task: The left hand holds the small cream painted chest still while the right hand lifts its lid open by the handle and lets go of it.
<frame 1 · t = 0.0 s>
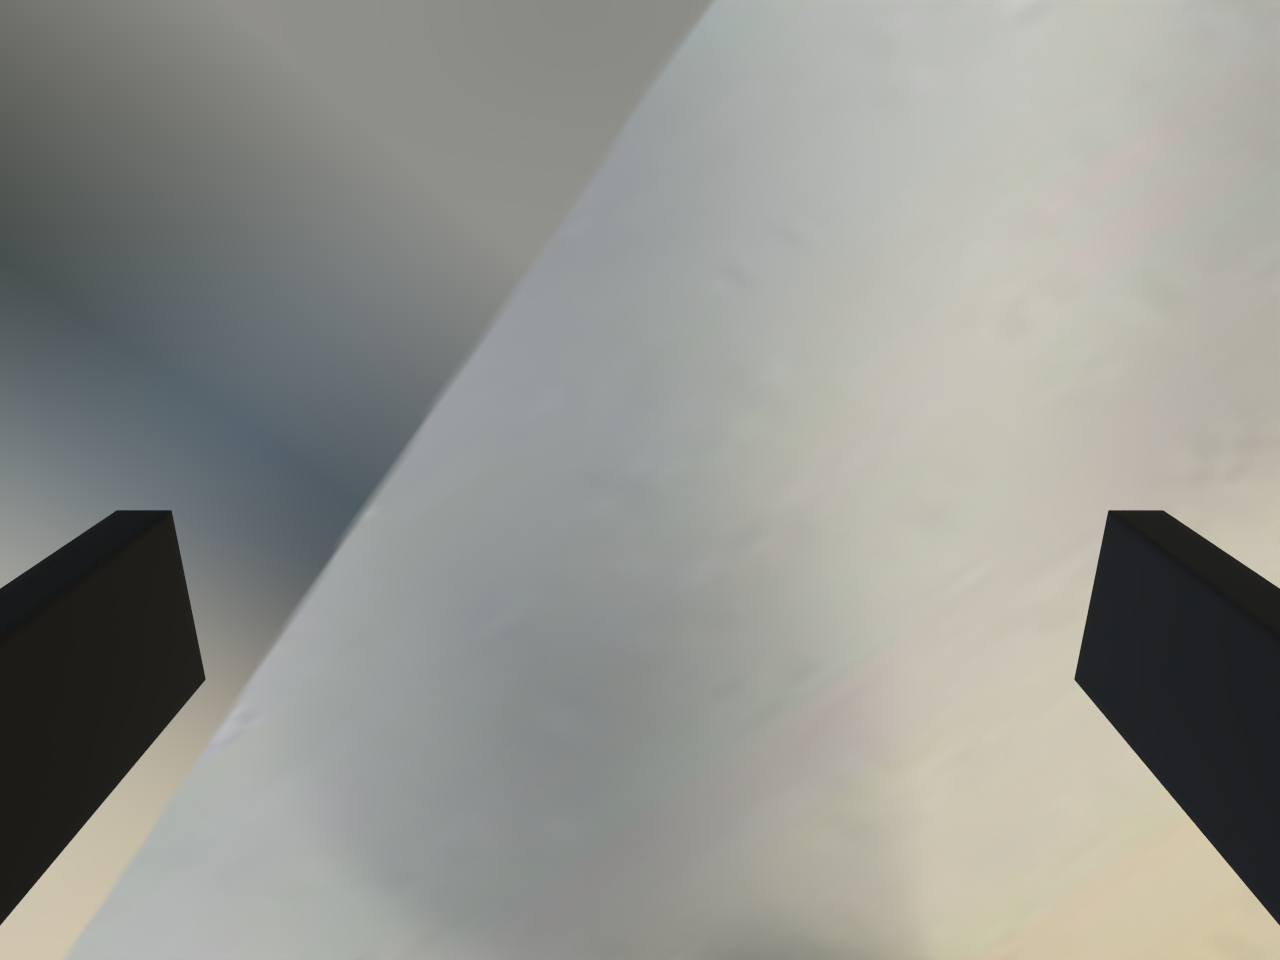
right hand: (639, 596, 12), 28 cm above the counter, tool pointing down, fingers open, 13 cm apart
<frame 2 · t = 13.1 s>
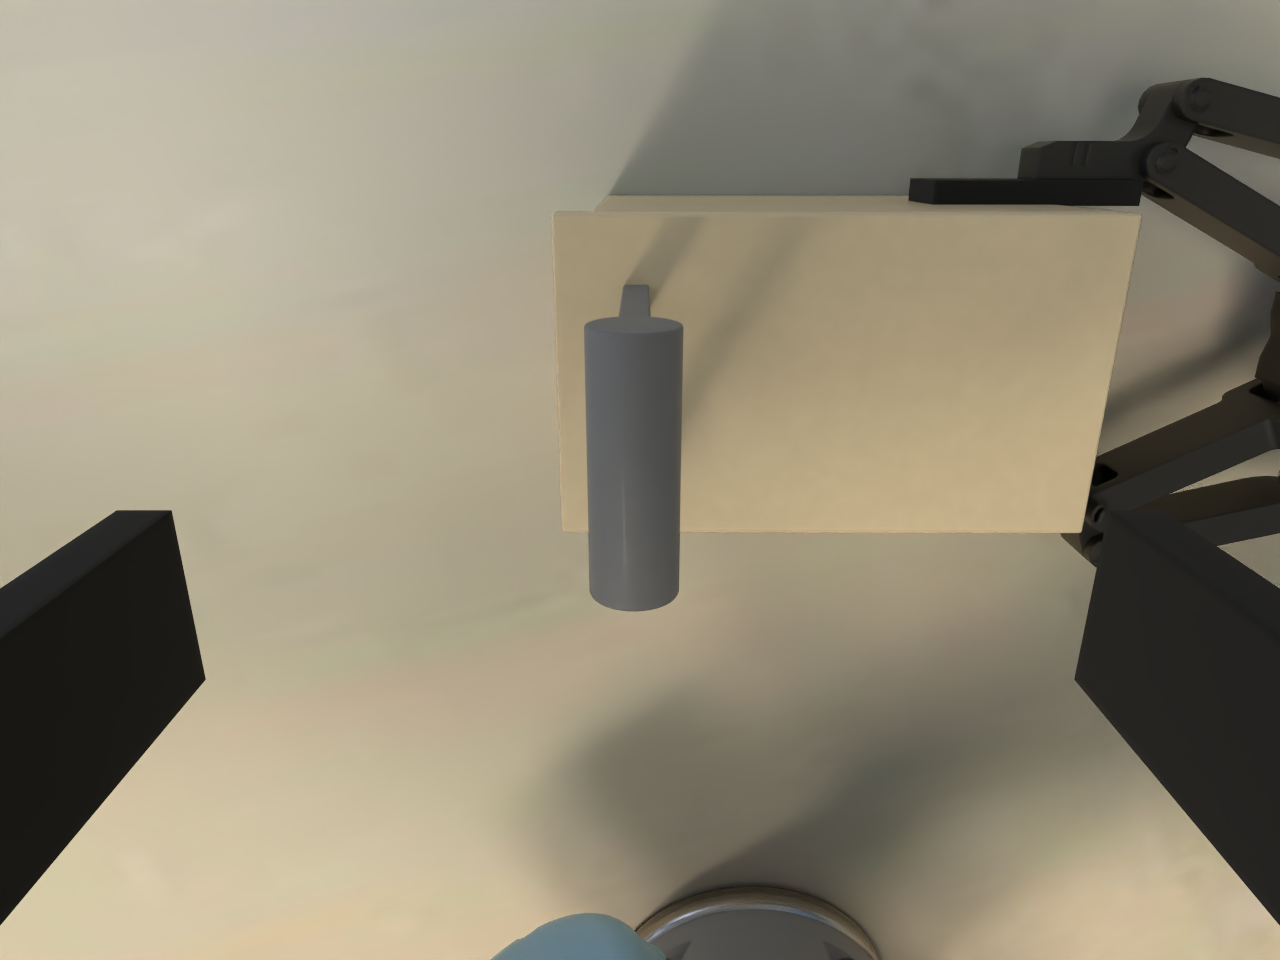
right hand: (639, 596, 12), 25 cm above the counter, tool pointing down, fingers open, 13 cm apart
left hand: (905, 340, 30), fingers closed on chest, 9 cm apart
lid: (861, 417, 21), point 16 cm above the counter, hinge at 0.0°
chest: (783, 311, 36), on the counter, touching left hand
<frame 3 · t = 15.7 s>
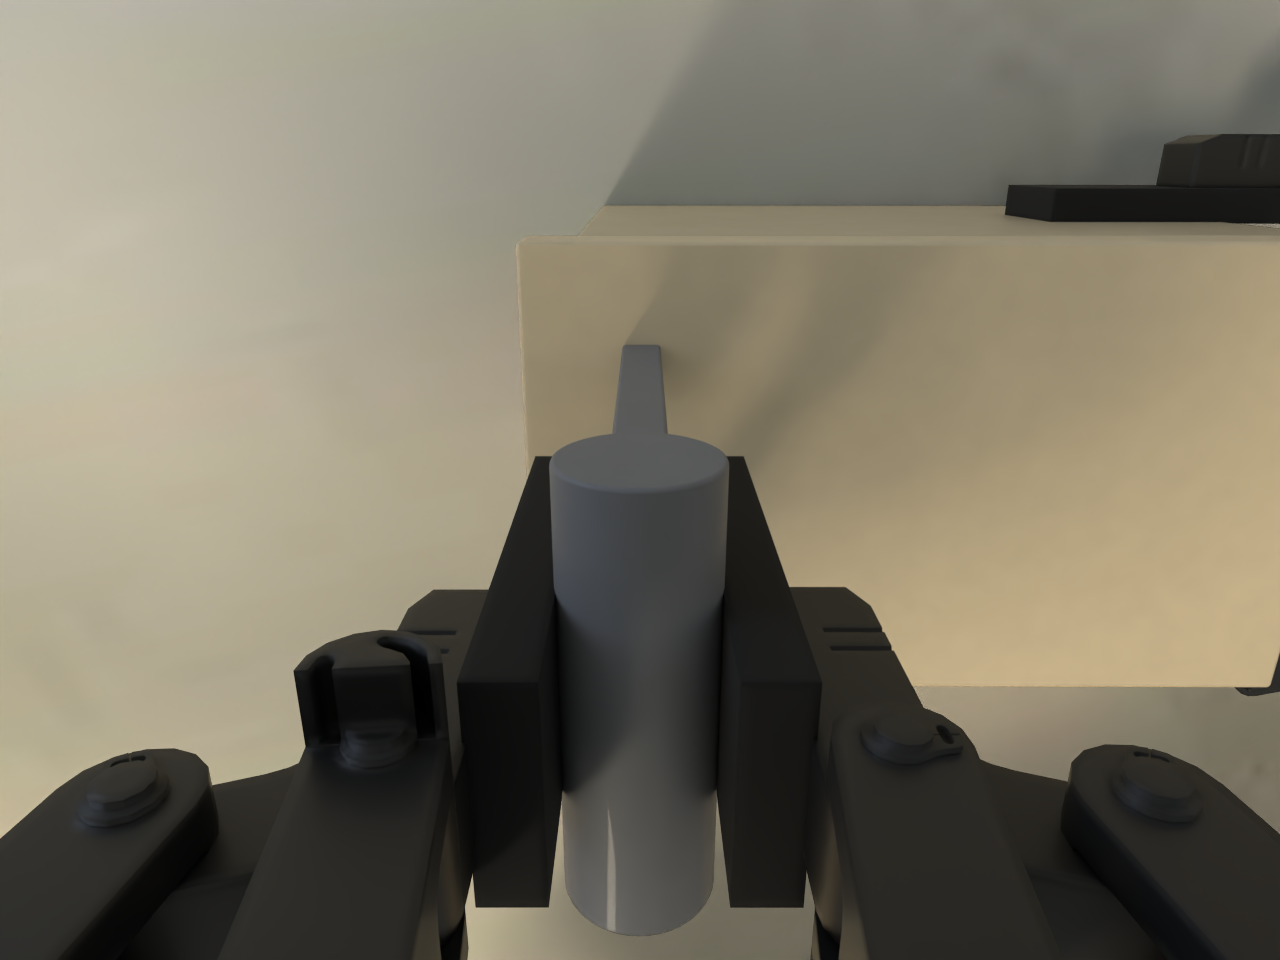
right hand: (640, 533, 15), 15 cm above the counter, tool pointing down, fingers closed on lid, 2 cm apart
lid: (992, 560, 14), point 16 cm above the counter, hinge at -0.1°, touching right hand
chest: (826, 351, 28), on the counter, touching left hand
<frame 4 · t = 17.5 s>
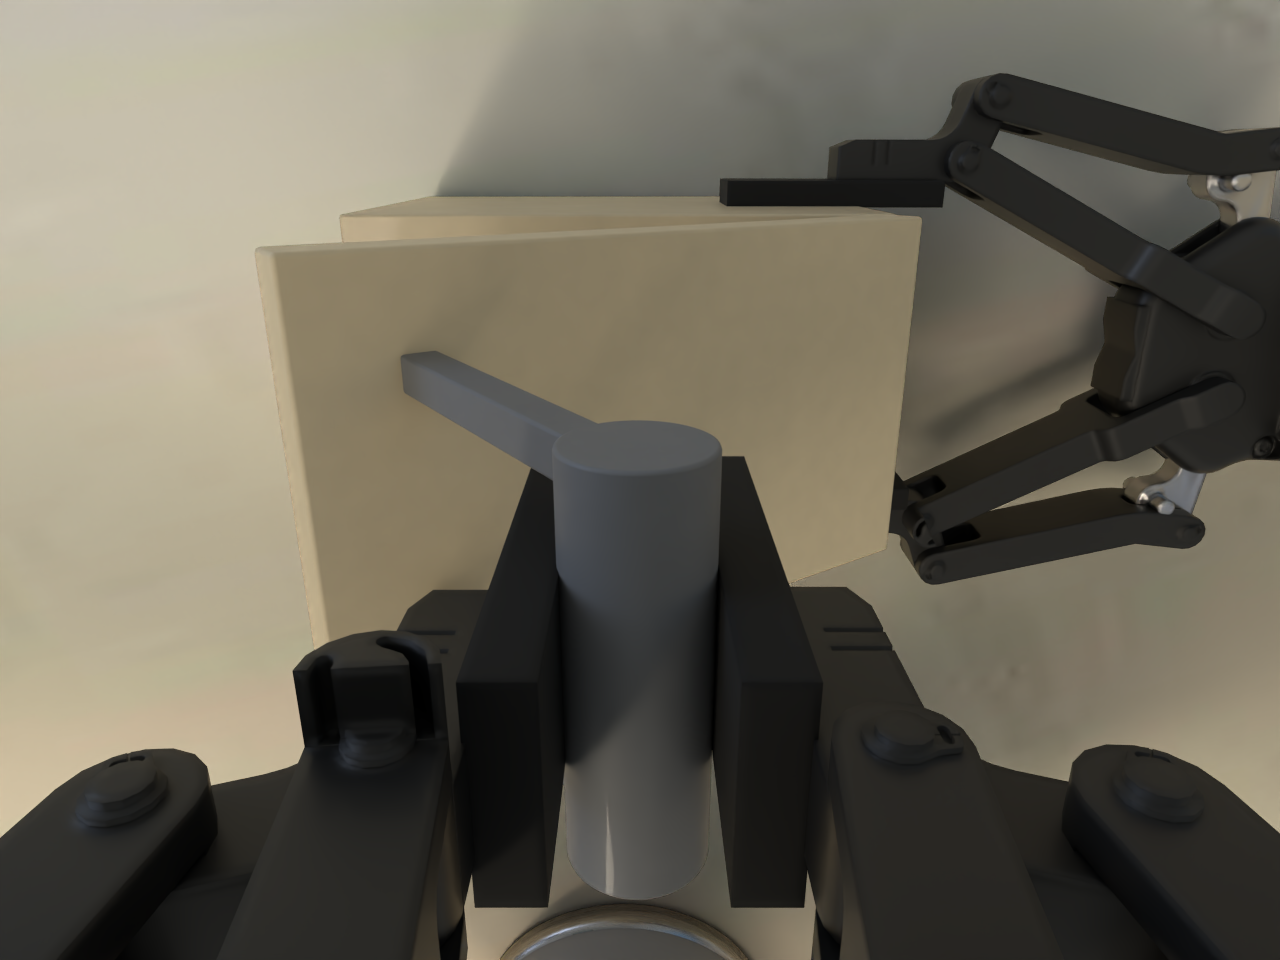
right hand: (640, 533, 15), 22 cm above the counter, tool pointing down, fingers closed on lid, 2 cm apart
left hand: (718, 347, 29), fingers closed on chest, 9 cm apart
lid: (773, 490, 17), point 19 cm above the counter, hinge at 33.3°, touching right hand
chest: (621, 316, 35), on the counter, touching left hand
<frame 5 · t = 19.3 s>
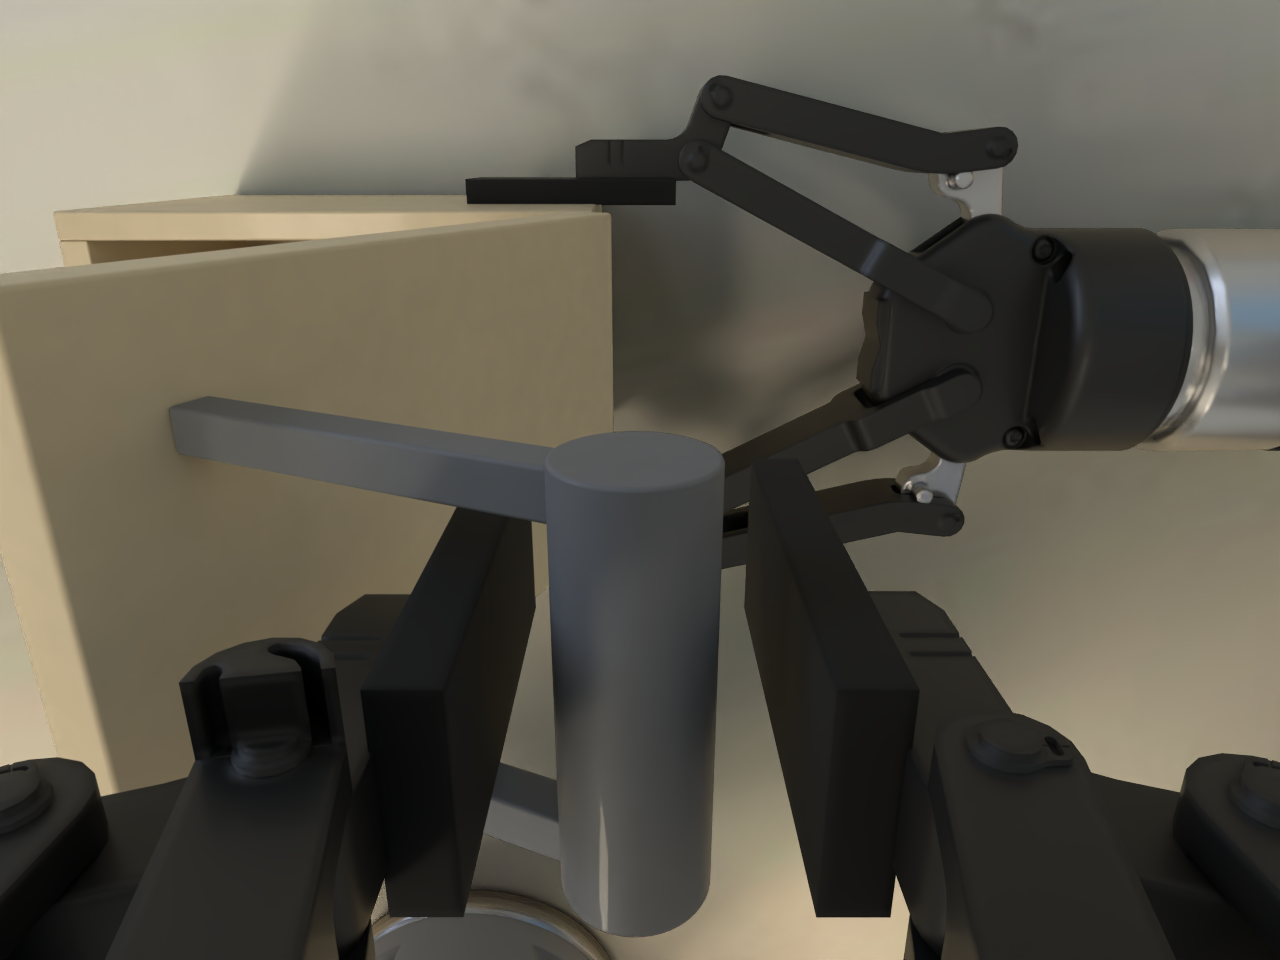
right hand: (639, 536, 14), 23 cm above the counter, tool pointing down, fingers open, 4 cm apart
left hand: (483, 341, 30), fingers closed on chest, 9 cm apart
lid: (589, 490, 16), point 20 cm above the counter, hinge at 64.1°
chest: (425, 312, 36), on the counter, touching left hand
when the left hand's fingers open (6 cm above the counter, at t = 23.0 s): chest stays where it is, on the counter.
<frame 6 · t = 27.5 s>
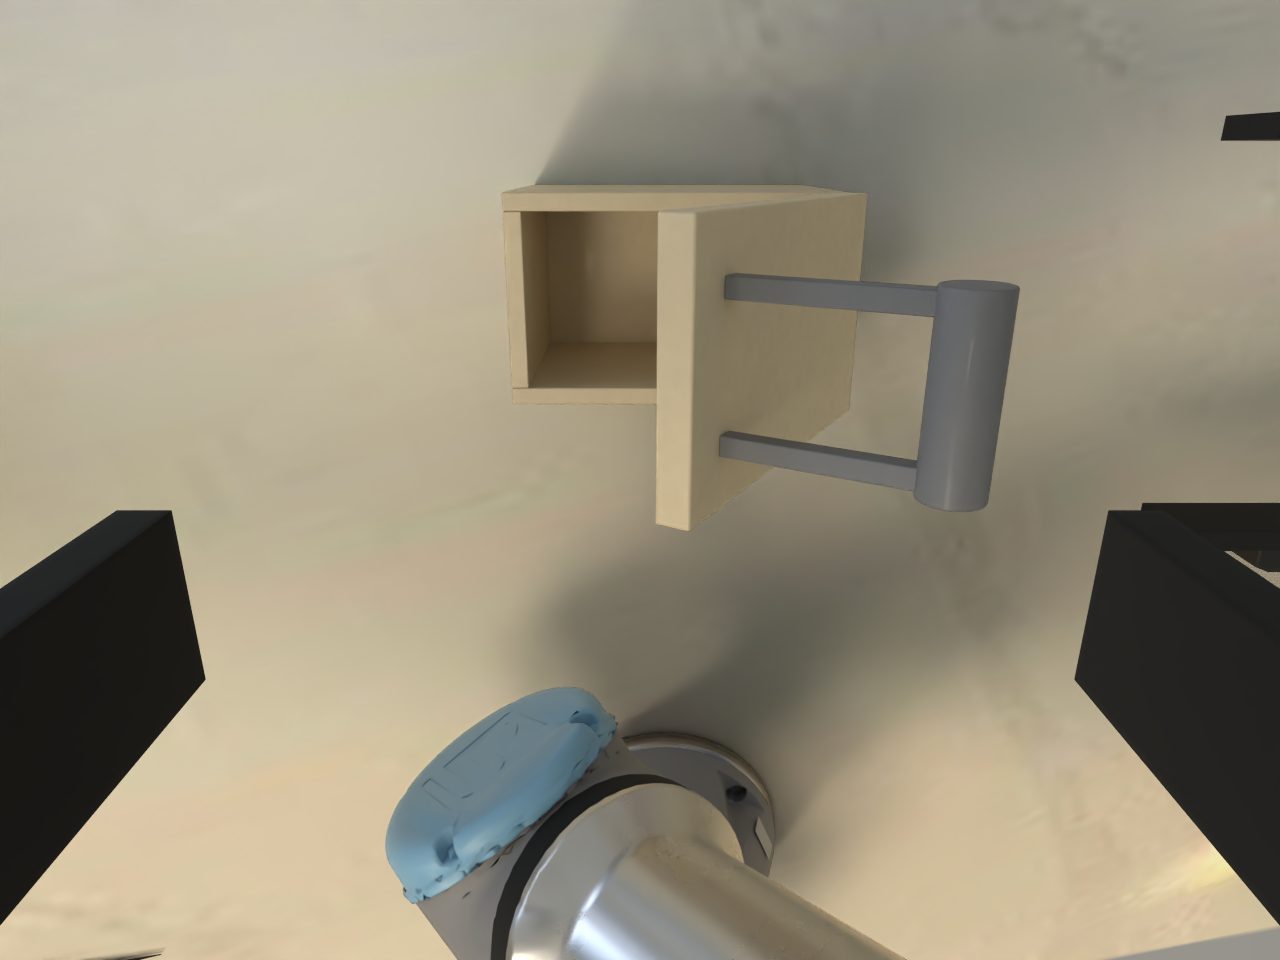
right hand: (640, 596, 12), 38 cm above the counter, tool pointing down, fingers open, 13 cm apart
lid: (886, 346, 29), point 21 cm above the counter, hinge at 59.9°
chest: (667, 271, 48), on the counter
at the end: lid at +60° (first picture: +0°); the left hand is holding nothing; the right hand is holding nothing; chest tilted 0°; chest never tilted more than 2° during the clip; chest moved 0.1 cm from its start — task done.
